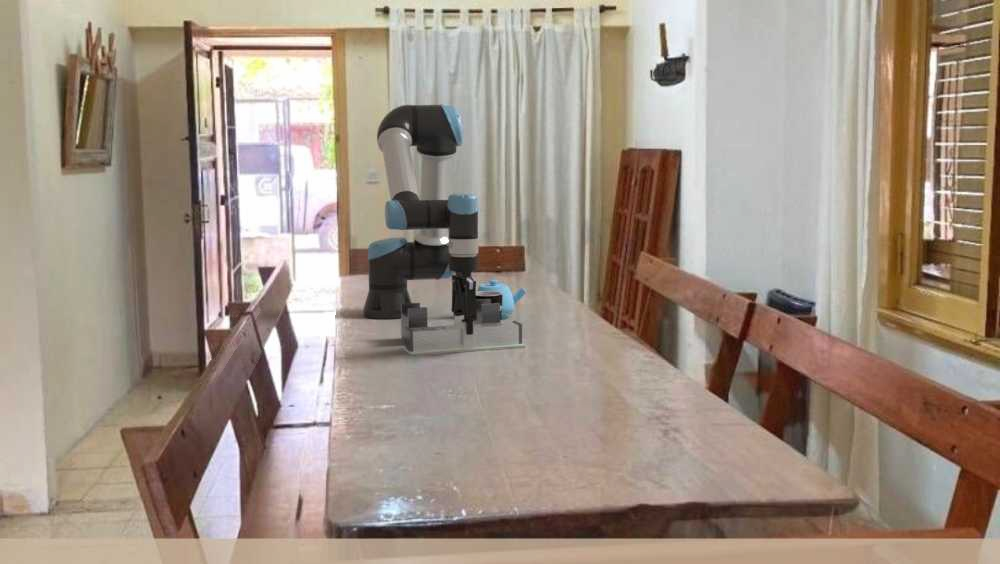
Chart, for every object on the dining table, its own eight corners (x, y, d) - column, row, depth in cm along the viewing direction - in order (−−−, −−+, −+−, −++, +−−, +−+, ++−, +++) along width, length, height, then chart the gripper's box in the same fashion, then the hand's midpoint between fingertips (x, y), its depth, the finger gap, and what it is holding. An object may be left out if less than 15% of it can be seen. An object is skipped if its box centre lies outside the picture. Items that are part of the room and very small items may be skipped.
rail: (410, 351, 250) (409, 331, 250) (405, 347, 255) (405, 327, 255) (522, 343, 260) (522, 324, 259) (515, 340, 264) (515, 320, 264)
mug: (502, 331, 280) (502, 295, 278) (470, 331, 279) (470, 295, 278) (502, 323, 291) (502, 289, 290) (471, 324, 291) (471, 289, 290)
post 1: (401, 338, 270) (400, 303, 269) (419, 337, 272) (418, 302, 270) (409, 344, 262) (408, 309, 260) (427, 343, 263) (427, 307, 262)
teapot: (493, 323, 292) (493, 285, 290) (460, 318, 301) (459, 280, 300) (528, 316, 303) (528, 279, 302) (494, 311, 312) (494, 275, 311)
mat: (403, 348, 257) (403, 346, 257) (513, 340, 266) (513, 338, 266) (411, 355, 249) (411, 353, 249) (525, 347, 258) (525, 345, 258)
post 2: (472, 333, 276) (472, 299, 275) (489, 332, 278) (489, 298, 277) (482, 339, 268) (482, 304, 267) (500, 338, 269) (499, 303, 268)
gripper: (438, 251, 263) (439, 337, 266) (460, 260, 244) (461, 352, 247) (466, 250, 265) (467, 335, 268) (489, 258, 246) (490, 350, 249)
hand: (464, 343), depth 257 cm, fingers open, 7 cm apart
